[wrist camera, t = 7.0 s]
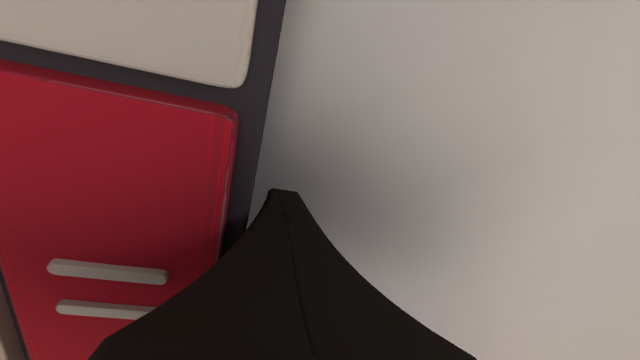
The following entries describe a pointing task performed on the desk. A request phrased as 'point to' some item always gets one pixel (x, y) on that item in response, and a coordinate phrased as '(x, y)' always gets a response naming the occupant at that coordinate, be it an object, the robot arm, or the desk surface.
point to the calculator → (122, 157)
